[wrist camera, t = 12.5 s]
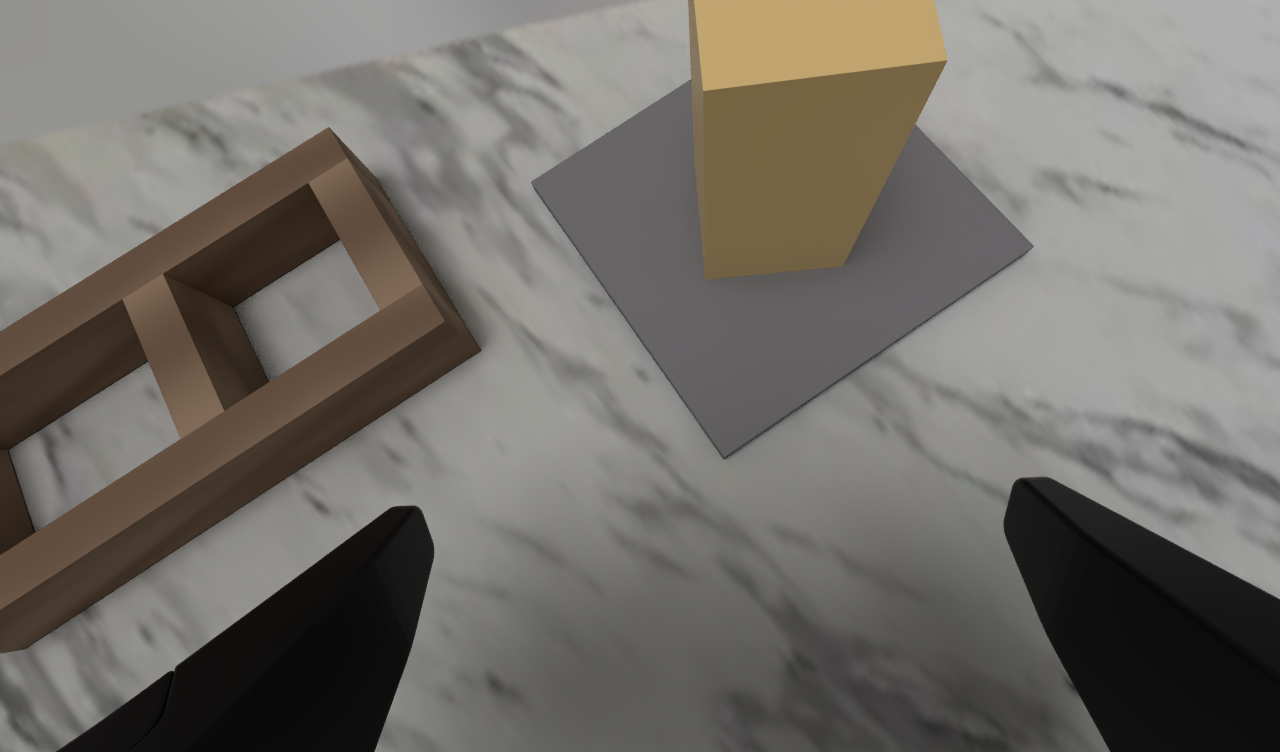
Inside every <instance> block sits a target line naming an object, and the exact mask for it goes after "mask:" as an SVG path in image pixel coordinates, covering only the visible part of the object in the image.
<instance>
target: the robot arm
mask: <svg viewBox="0 0 1280 752" xmlns="http://www.w3.org/2000/svg"><path fill="white" fill-rule="evenodd" d="M1004 533H1005V536H1006V539H1007V541H1008V544H1009V546H1010V549H1011V551H1012V554H1013V556H1014V558H1015V561H1016V563H1017V566H1018V568H1019V570H1020V573H1021V575H1022V578H1023V580H1024V583H1025V585H1026V587H1027V590H1028V592H1029V595H1030V597H1031V599H1032V602H1033V604H1034V607H1035V609H1036V612H1037V614H1038V616H1039V619H1040V621H1041V623H1042V625H1043V628H1044V630H1045V632H1046V634H1047V636H1048V638H1049V640H1050V642H1051V644H1052V646H1053V648H1054V650H1055V651H1056V653H1057V655H1058V657H1059V659H1060V661H1061V662H1062V664H1063V666H1064V668H1065V670H1066V672H1067V673H1068V675H1069V677H1070V679H1071V681H1072V683H1073V684H1074V686H1075V688H1076V690H1077V692H1078V694H1079V695H1080V697H1081V699H1082V701H1083V703H1084V705H1085V706H1086V708H1087V710H1088V712H1089V714H1090V715H1091V717H1092V719H1093V721H1094V723H1095V725H1096V726H1097V728H1098V730H1099V732H1100V734H1101V736H1102V737H1103V739H1104V741H1105V743H1106V745H1107V747H1108V748H1109V750H1110V752H1280V599H1278V598H1277V597H1275V596H1273V595H1271V594H1269V593H1267V592H1265V591H1263V590H1261V589H1260V588H1258V587H1256V586H1254V585H1252V584H1250V583H1248V582H1246V581H1244V580H1242V579H1241V578H1239V577H1237V576H1235V575H1233V574H1231V573H1229V572H1227V571H1225V570H1224V569H1222V568H1220V567H1218V566H1216V565H1214V564H1212V563H1210V562H1208V561H1207V560H1205V559H1203V558H1201V557H1199V556H1197V555H1195V554H1193V553H1191V552H1190V551H1188V550H1186V549H1184V548H1182V547H1180V546H1178V545H1176V544H1174V543H1172V542H1171V541H1169V540H1167V539H1165V538H1163V537H1161V536H1159V535H1157V534H1155V533H1154V532H1152V531H1150V530H1148V529H1146V528H1144V527H1142V526H1140V525H1138V524H1137V523H1135V522H1133V521H1131V520H1129V519H1127V518H1125V517H1123V516H1121V515H1119V514H1118V513H1116V512H1114V511H1112V510H1110V509H1108V508H1106V507H1104V506H1102V505H1101V504H1099V503H1097V502H1095V501H1093V500H1091V499H1089V498H1087V497H1085V496H1084V495H1082V494H1080V493H1078V492H1076V491H1074V490H1072V489H1070V488H1068V487H1066V486H1065V485H1063V484H1061V483H1059V482H1057V481H1055V480H1053V479H1051V478H1048V477H1028V478H1020V479H1017V480H1016V481H1015V482H1014V484H1013V486H1012V490H1011V494H1010V497H1009V501H1008V505H1007V509H1006V513H1005V517H1004ZM433 559H434V544H433V540H432V538H431V535H430V532H429V529H428V526H427V524H426V521H425V518H424V515H423V513H422V511H421V509H420V508H419V507H417V506H396V507H392V508H390V509H388V510H387V511H386V512H384V513H383V514H381V515H380V516H379V517H377V518H376V519H375V520H373V521H372V522H371V523H369V524H368V525H367V526H365V527H364V528H363V529H361V530H360V531H358V532H357V533H356V534H354V535H353V536H352V537H350V538H349V539H348V540H346V541H345V542H344V543H342V544H341V545H340V546H338V547H337V548H336V549H334V550H333V551H331V552H330V553H329V554H327V555H326V556H325V557H323V558H322V559H321V560H319V561H318V562H317V563H315V564H314V565H313V566H311V567H310V568H308V569H307V570H306V571H304V572H303V573H302V574H300V575H299V576H298V577H296V578H295V579H294V580H292V581H291V582H290V583H288V584H287V585H285V586H284V587H283V588H281V589H280V590H279V591H277V592H276V593H275V594H273V595H272V596H271V597H269V598H268V599H267V600H265V601H264V602H262V603H261V604H260V605H258V606H257V607H256V608H254V609H253V610H252V611H250V612H249V613H248V614H246V615H245V616H244V617H242V618H241V619H239V620H238V621H237V622H235V623H234V624H233V625H231V626H230V627H229V628H227V629H226V630H225V631H223V632H222V633H221V634H219V635H218V636H216V637H215V638H214V639H212V640H211V641H210V642H208V643H207V644H206V645H204V646H203V647H202V648H200V649H199V650H198V651H196V652H195V653H193V654H192V655H191V656H189V657H188V658H187V659H185V660H184V661H183V662H181V663H180V664H179V665H177V666H176V667H175V670H174V671H169V672H168V673H166V674H165V675H164V676H162V677H161V678H160V679H158V680H157V681H155V682H154V683H153V684H151V685H150V686H149V687H147V688H146V689H145V690H143V691H142V692H141V693H139V694H138V695H136V696H135V697H134V698H132V699H131V700H129V701H128V702H127V703H125V704H124V705H123V706H121V707H120V708H118V709H117V710H116V711H114V712H113V713H111V714H110V715H109V716H107V717H106V718H104V719H103V720H102V721H100V722H99V723H97V724H96V725H95V726H93V727H92V728H90V729H89V730H87V731H86V732H84V733H83V734H81V735H80V736H79V737H77V738H76V739H74V740H73V741H71V742H70V743H68V744H67V745H65V746H64V747H62V748H61V749H59V750H58V751H56V752H374V751H375V749H376V746H377V743H378V740H379V738H380V735H381V732H382V729H383V727H384V724H385V721H386V718H387V715H388V713H389V710H390V707H391V704H392V702H393V699H394V696H395V693H396V690H397V688H398V685H399V682H400V679H401V677H402V674H403V671H404V668H405V666H406V663H407V660H408V657H409V654H410V651H411V647H412V644H413V640H414V637H415V633H416V629H417V625H418V620H419V616H420V612H421V608H422V604H423V600H424V596H425V592H426V588H427V584H428V580H429V575H430V571H431V567H432V563H433Z"/></svg>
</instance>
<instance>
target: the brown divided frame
mask: <svg viewBox="0 0 1280 752" xmlns="http://www.w3.org/2000/svg"><path fill="white" fill-rule="evenodd" d="M339 239H340V240H341V241H342V243H343V245H344V247H345V249H346V250H347V252H348V254H349V256H350V257H351V259H352V261H353V263H354V264H355V266H356V268H357V270H358V272H359V273H360V275H361V277H362V279H363V280H364V282H365V284H366V286H367V288H368V289H369V291H370V293H371V295H372V296H373V298H374V300H375V302H376V304H377V305H378V307H379V309H380V311H379V312H378V313H376V314H374V315H373V316H371V317H370V318H368V319H367V320H365V321H364V322H362V323H360V324H359V325H357V326H356V327H354V328H353V329H351V330H350V331H348V332H346V333H345V334H343V335H342V336H340V337H339V338H337V339H336V340H334V341H332V342H331V343H329V344H328V345H326V346H325V347H323V348H322V349H320V350H318V351H317V352H315V353H314V354H312V355H311V356H309V357H308V358H306V359H304V360H303V361H301V362H300V363H298V364H297V365H295V366H294V367H292V368H290V369H289V370H287V371H286V372H284V373H283V374H281V375H280V376H278V377H277V378H275V379H273V380H272V381H270V382H268V379H267V377H266V375H265V373H264V371H263V369H262V367H261V365H260V363H259V361H258V359H257V357H256V354H255V352H254V350H253V348H252V346H251V344H250V342H249V340H248V338H247V336H246V334H245V332H244V329H243V327H242V325H241V323H240V321H239V319H238V317H237V315H236V313H235V311H234V309H233V306H235V305H237V304H238V303H240V302H241V301H243V300H244V299H246V298H248V297H249V296H251V295H252V294H254V293H255V292H257V291H259V290H260V289H262V288H263V287H265V286H267V285H268V284H270V283H271V282H273V281H274V280H276V279H278V278H279V277H281V276H282V275H284V274H285V273H287V272H289V271H290V270H292V269H293V268H295V267H296V266H298V265H300V264H301V263H303V262H304V261H306V260H308V259H309V258H311V257H312V256H314V255H315V254H317V253H319V252H320V251H322V250H323V249H325V248H326V247H328V246H330V245H331V244H333V243H334V242H336V241H337V240H339ZM479 351H481V350H480V348H479V346H478V345H477V343H476V341H475V340H474V338H473V337H472V335H471V333H470V332H469V330H468V328H467V327H466V325H465V323H464V322H463V320H462V318H461V317H460V315H459V313H458V312H457V310H456V309H455V307H454V305H453V304H452V302H451V300H450V299H449V297H448V295H447V294H446V292H445V290H444V289H443V287H442V286H441V284H440V282H439V281H438V279H437V277H436V276H435V274H434V272H433V271H432V269H431V267H430V266H429V264H428V262H427V261H426V259H425V258H424V256H423V254H422V253H421V251H420V249H419V248H418V246H417V244H416V243H415V241H414V239H413V238H412V236H411V234H410V233H409V231H408V230H407V228H406V226H405V225H404V223H403V221H402V220H401V218H400V216H399V215H398V213H397V211H396V210H395V208H394V206H393V205H392V203H391V202H390V200H389V198H388V197H387V195H386V193H385V192H384V190H383V188H382V187H381V185H380V183H379V182H378V180H377V178H376V177H375V176H374V175H373V174H372V173H371V172H370V171H369V170H368V168H367V167H366V166H365V165H364V164H363V163H362V162H361V161H360V160H359V159H358V158H357V157H356V156H355V155H354V153H353V152H352V151H351V150H350V149H349V148H348V147H347V146H346V145H345V144H344V143H343V142H342V141H341V140H340V139H339V137H338V136H337V135H336V134H335V133H334V132H333V131H332V130H331V129H330V128H329V127H328V128H326V129H325V130H323V131H322V132H320V133H318V134H317V135H315V136H314V137H312V138H310V139H309V140H307V141H306V142H304V143H302V144H301V145H299V146H298V147H296V148H294V149H293V150H291V151H289V152H288V153H286V154H285V155H283V156H281V157H280V158H278V159H277V160H275V161H273V162H272V163H270V164H269V165H267V166H265V167H264V168H262V169H261V170H259V171H257V172H256V173H254V174H253V175H251V176H249V177H248V178H246V179H245V180H243V181H241V182H240V183H238V184H236V185H235V186H233V187H232V188H230V189H228V190H227V191H225V192H224V193H222V194H220V195H219V196H217V197H216V198H214V199H212V200H211V201H209V202H208V203H206V204H204V205H203V206H201V207H200V208H198V209H196V210H195V211H193V212H192V213H190V214H188V215H187V216H185V217H183V218H182V219H180V220H179V221H177V222H175V223H174V224H172V225H171V226H169V227H167V228H166V229H164V230H163V231H161V232H159V233H158V234H156V235H155V236H153V237H151V238H150V239H148V240H147V241H145V242H143V243H142V244H140V245H139V246H137V247H135V248H134V249H132V250H130V251H129V252H127V253H126V254H124V255H122V256H121V257H119V258H118V259H116V260H114V261H113V262H111V263H110V264H108V265H106V266H105V267H103V268H102V269H100V270H98V271H97V272H95V273H94V274H92V275H90V276H89V277H87V278H85V279H84V280H82V281H81V282H79V283H77V284H76V285H74V286H73V287H71V288H69V289H68V290H66V291H65V292H63V293H61V294H60V295H58V296H57V297H55V298H53V299H52V300H50V301H49V302H47V303H45V304H44V305H42V306H41V307H39V308H37V309H36V310H34V311H32V312H31V313H29V314H28V315H26V316H24V317H23V318H21V319H20V320H18V321H16V322H15V323H13V324H12V325H10V326H8V327H7V328H5V329H4V330H2V331H0V653H6V652H12V651H17V650H23V649H25V648H27V647H28V646H30V645H31V644H33V643H34V642H36V641H37V640H39V639H40V638H42V637H43V636H45V635H46V634H48V633H50V632H51V631H53V630H54V629H56V628H57V627H59V626H60V625H62V624H63V623H65V622H66V621H68V620H69V619H71V618H72V617H74V616H76V615H77V614H79V613H80V612H82V611H83V610H85V609H86V608H88V607H89V606H91V605H92V604H94V603H95V602H97V601H98V600H100V599H102V598H103V597H105V596H106V595H108V594H109V593H111V592H112V591H114V590H115V589H117V588H118V587H120V586H121V585H123V584H124V583H126V582H128V581H129V580H131V579H132V578H134V577H135V576H137V575H138V574H140V573H141V572H143V571H144V570H146V569H147V568H149V567H150V566H152V565H154V564H155V563H157V562H158V561H160V560H161V559H163V558H164V557H166V556H167V555H169V554H170V553H172V552H173V551H175V550H176V549H178V548H180V547H181V546H183V545H184V544H186V543H187V542H189V541H190V540H192V539H193V538H195V537H196V536H198V535H199V534H201V533H202V532H204V531H206V530H207V529H209V528H210V527H212V526H213V525H215V524H216V523H218V522H219V521H221V520H222V519H224V518H225V517H227V516H228V515H230V514H232V513H233V512H235V511H236V510H238V509H239V508H241V507H242V506H244V505H245V504H247V503H248V502H250V501H251V500H253V499H254V498H256V497H258V496H259V495H261V494H262V493H264V492H265V491H267V490H268V489H270V488H271V487H273V486H274V485H276V484H277V483H279V482H280V481H282V480H284V479H285V478H287V477H288V476H290V475H291V474H293V473H294V472H296V471H297V470H299V469H300V468H302V467H303V466H305V465H306V464H308V463H310V462H311V461H313V460H314V459H316V458H317V457H319V456H320V455H322V454H323V453H325V452H326V451H328V450H329V449H331V448H332V447H334V446H336V445H337V444H339V443H340V442H342V441H343V440H345V439H346V438H348V437H349V436H351V435H352V434H354V433H355V432H357V431H358V430H360V429H362V428H363V427H365V426H366V425H368V424H369V423H371V422H372V421H374V420H375V419H377V418H378V417H380V416H381V415H383V414H384V413H386V412H388V411H389V410H391V409H392V408H394V407H395V406H397V405H398V404H400V403H401V402H403V401H404V400H406V399H407V398H409V397H410V396H412V395H414V394H415V393H417V392H418V391H420V390H421V389H423V388H424V387H426V386H427V385H429V384H430V383H432V382H433V381H435V380H436V379H438V378H440V377H441V376H443V375H444V374H446V373H447V372H449V371H450V370H452V369H453V368H455V367H456V366H458V365H459V364H461V363H462V362H464V361H466V360H467V359H469V358H470V357H472V356H473V355H475V354H476V353H478V352H479ZM147 361H149V364H150V366H151V369H152V371H153V373H154V376H155V378H156V381H157V383H158V385H159V388H160V390H161V393H162V395H163V397H164V400H165V402H166V405H167V407H168V409H169V412H170V414H171V416H172V419H173V421H174V424H175V426H176V428H177V431H178V433H179V436H180V438H181V439H180V440H179V441H177V442H176V443H174V444H172V445H171V446H169V447H168V448H166V449H165V450H163V451H162V452H160V453H158V454H157V455H155V456H154V457H152V458H151V459H149V460H148V461H146V462H144V463H143V464H141V465H140V466H138V467H137V468H135V469H134V470H132V471H130V472H129V473H127V474H126V475H124V476H123V477H121V478H120V479H118V480H116V481H115V482H113V483H112V484H110V485H109V486H107V487H106V488H104V489H102V490H101V491H99V492H98V493H96V494H95V495H93V496H92V497H90V498H88V499H87V500H85V501H84V502H82V503H81V504H79V505H78V506H76V507H75V508H73V509H71V510H70V511H68V512H67V513H65V514H64V515H62V516H61V517H59V518H57V519H56V520H54V521H53V522H51V523H50V524H48V525H47V526H45V527H43V528H42V529H40V530H39V531H37V532H36V533H34V531H33V528H32V525H31V522H30V519H29V516H28V513H27V510H26V506H25V503H24V500H23V497H22V494H21V491H20V488H19V485H18V482H17V479H16V476H15V472H14V469H13V466H12V463H11V460H10V457H9V454H8V451H7V450H8V449H9V448H11V447H13V446H14V445H16V444H17V443H19V442H20V441H22V440H24V439H25V438H27V437H28V436H30V435H32V434H33V433H35V432H36V431H38V430H39V429H41V428H43V427H44V426H46V425H47V424H49V423H50V422H52V421H54V420H55V419H57V418H58V417H60V416H61V415H63V414H65V413H66V412H68V411H69V410H71V409H73V408H74V407H76V406H77V405H79V404H80V403H82V402H84V401H85V400H87V399H88V398H90V397H91V396H93V395H95V394H96V393H98V392H99V391H101V390H102V389H104V388H106V387H107V386H109V385H110V384H112V383H114V382H115V381H117V380H118V379H120V378H121V377H123V376H125V375H126V374H128V373H129V372H131V371H132V370H134V369H136V368H137V367H139V366H140V365H142V364H143V363H145V362H147Z"/></svg>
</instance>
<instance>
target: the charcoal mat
mask: <svg viewBox="0 0 1280 752" xmlns="http://www.w3.org/2000/svg"><path fill="white" fill-rule="evenodd" d="M531 183H532V185H533V187H534V189H535V191H536V192H537V194H538V195H539V196H540V198H541V199H542V201H543V202H544V204H545V205H546V206H547V208H548V209H549V211H550V212H551V214H552V215H553V216H554V218H555V219H556V221H557V222H558V224H559V225H560V226H561V228H562V229H563V231H564V232H565V233H566V235H567V236H568V238H569V239H570V241H571V242H572V243H573V245H574V246H575V248H576V249H577V251H578V252H579V253H580V255H581V256H582V258H583V259H584V261H585V262H586V263H587V265H588V266H589V268H590V269H591V271H592V272H593V273H594V275H595V276H596V278H597V279H598V281H599V282H600V283H601V285H602V286H603V288H604V289H605V291H606V292H607V293H608V295H609V296H610V298H611V299H612V301H613V302H614V303H615V305H616V306H617V308H618V309H619V311H620V312H621V313H622V315H623V316H624V318H625V319H626V321H627V322H628V323H629V325H630V326H631V328H632V329H633V330H634V332H635V333H636V335H637V336H638V338H639V339H640V340H641V342H642V343H643V345H644V346H645V348H646V349H647V350H648V352H649V353H650V355H651V356H652V358H653V359H654V360H655V362H656V363H657V365H658V366H659V368H660V369H661V370H662V372H663V373H664V375H665V376H666V378H667V379H668V380H669V382H670V383H671V385H672V386H673V388H674V389H675V390H676V392H677V393H678V395H679V396H680V398H681V399H682V400H683V402H684V403H685V405H686V406H687V408H688V409H689V410H690V412H691V413H692V415H693V416H694V418H695V419H696V420H697V422H698V423H699V425H700V426H701V427H702V429H703V430H704V432H705V433H706V435H707V436H708V437H709V439H710V440H711V442H712V443H713V445H714V446H715V447H716V449H717V450H718V452H719V453H720V455H721V456H722V457H723V459H725V458H726V457H728V456H729V455H731V454H732V453H734V452H735V451H737V450H738V449H739V448H741V447H742V446H744V445H745V444H747V443H748V442H750V441H751V440H753V439H754V438H756V437H757V436H759V435H760V434H762V433H763V432H764V431H766V430H767V429H769V428H770V427H772V426H773V425H775V424H776V423H778V422H779V421H781V420H782V419H784V418H785V417H787V416H788V415H789V414H791V413H792V412H794V411H795V410H797V409H798V408H800V407H801V406H803V405H804V404H806V403H807V402H809V401H810V400H811V399H813V398H814V397H816V396H817V395H819V394H820V393H822V392H823V391H825V390H826V389H828V388H829V387H831V386H832V385H834V384H835V383H836V382H838V381H839V380H841V379H842V378H844V377H845V376H847V375H848V374H850V373H851V372H853V371H854V370H856V369H857V368H858V367H860V366H861V365H863V364H864V363H866V362H867V361H869V360H870V359H872V358H873V357H875V356H876V355H878V354H879V353H881V352H882V351H883V350H885V349H886V348H888V347H889V346H891V345H892V344H894V343H895V342H897V341H898V340H900V339H901V338H903V337H904V336H905V335H907V334H908V333H910V332H911V331H913V330H914V329H916V328H917V327H919V326H920V325H922V324H923V323H925V322H926V321H928V320H929V319H930V318H932V317H933V316H935V315H936V314H938V313H939V312H941V311H942V310H944V309H945V308H947V307H948V306H950V305H951V304H953V303H954V302H955V301H957V300H958V299H960V298H961V297H963V296H964V295H966V294H967V293H969V292H970V291H972V290H973V289H975V288H976V287H977V286H979V285H980V284H982V283H983V282H985V281H986V280H988V279H989V278H991V277H992V276H994V275H995V274H997V273H998V272H1000V271H1001V270H1002V269H1004V268H1005V267H1007V266H1008V265H1010V264H1011V263H1013V262H1014V261H1016V260H1017V259H1019V258H1020V257H1022V256H1023V255H1024V254H1026V253H1027V252H1028V251H1029V250H1031V249H1032V248H1033V247H1034V246H1033V245H1032V244H1031V243H1030V242H1029V241H1028V240H1027V239H1026V238H1025V237H1024V235H1023V234H1022V233H1021V232H1020V231H1019V230H1018V229H1017V228H1016V227H1015V226H1014V225H1013V224H1012V223H1011V222H1010V221H1009V220H1008V219H1007V218H1006V217H1005V216H1004V215H1003V214H1002V213H1001V212H1000V211H999V210H998V209H997V208H996V207H995V206H994V205H993V204H992V203H991V202H990V201H989V200H988V199H987V198H986V197H985V195H984V194H983V193H982V192H981V191H980V190H979V189H978V188H977V187H976V186H975V185H974V184H973V183H972V182H971V181H970V180H969V179H968V178H967V177H966V176H965V175H964V174H963V173H962V172H961V171H960V170H959V169H958V168H957V167H956V166H955V165H954V164H953V163H952V162H951V161H950V160H949V159H948V158H947V157H946V156H945V154H944V153H943V152H942V151H941V150H940V149H939V148H938V147H937V146H936V145H935V144H934V143H933V142H932V141H931V140H930V139H929V138H928V137H927V136H926V135H925V134H924V133H923V132H922V131H921V130H920V129H919V128H918V127H917V126H916V125H914V127H913V129H912V131H911V133H910V135H909V137H908V139H907V141H906V143H905V145H904V147H903V149H902V151H901V153H900V155H899V157H898V159H897V161H896V163H895V165H894V167H893V169H892V171H891V173H890V175H889V177H888V178H887V180H886V182H885V184H884V186H883V188H882V190H881V192H880V194H879V196H878V198H877V200H876V202H875V204H874V206H873V208H872V210H871V212H870V214H869V216H868V218H867V220H866V222H865V224H864V226H863V228H862V230H861V232H860V234H859V236H858V238H857V239H856V241H855V243H854V245H853V247H852V249H851V251H850V253H849V255H848V257H847V259H846V261H845V263H844V265H843V267H833V268H823V269H812V270H802V271H792V272H782V273H771V274H761V275H751V276H741V277H730V278H720V279H710V280H705V274H704V263H703V252H702V241H701V230H700V220H699V209H698V198H697V187H696V177H695V166H694V144H693V117H692V89H691V80H689V81H688V82H686V83H685V84H683V85H682V86H680V87H678V88H677V89H675V90H674V91H672V92H671V93H669V94H668V95H666V96H664V97H663V98H661V99H660V100H658V101H657V102H655V103H653V104H652V105H650V106H649V107H647V108H646V109H644V110H643V111H641V112H639V113H638V114H636V115H635V116H633V117H632V118H630V119H628V120H627V121H625V122H624V123H622V124H621V125H619V126H618V127H616V128H614V129H613V130H611V131H610V132H608V133H607V134H605V135H604V136H602V137H600V138H599V139H597V140H596V141H594V142H593V143H591V144H589V145H588V146H586V147H585V148H583V149H582V150H580V151H579V152H577V153H575V154H574V155H572V156H571V157H569V158H568V159H566V160H564V161H563V162H561V163H560V164H558V165H557V166H555V167H554V168H552V169H550V170H549V171H547V172H546V173H544V174H543V175H541V176H539V177H538V178H536V179H535V180H533V181H532V182H531Z"/></svg>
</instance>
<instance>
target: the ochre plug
mask: <svg viewBox="0 0 1280 752" xmlns="http://www.w3.org/2000/svg"><path fill="white" fill-rule="evenodd" d="M688 7H689V34H690V62H691V89H692V117H693V144H694V166H695V177H696V187H697V198H698V209H699V220H700V230H701V241H702V252H703V263H704V274H705V280H710V279H720V278H730V277H741V276H751V275H761V274H771V273H782V272H792V271H802V270H812V269H823V268H833V267H843V265H844V263H845V261H846V259H847V257H848V255H849V253H850V251H851V249H852V247H853V245H854V243H855V241H856V239H857V238H858V236H859V234H860V232H861V230H862V228H863V226H864V224H865V222H866V220H867V218H868V216H869V214H870V212H871V210H872V208H873V206H874V204H875V202H876V200H877V198H878V196H879V194H880V192H881V190H882V188H883V186H884V184H885V182H886V180H887V178H888V177H889V175H890V173H891V171H892V169H893V167H894V165H895V163H896V161H897V159H898V157H899V155H900V153H901V151H902V149H903V147H904V145H905V143H906V141H907V139H908V137H909V135H910V133H911V131H912V129H913V127H914V125H915V123H916V121H917V119H918V117H919V116H920V114H921V112H922V110H923V108H924V106H925V104H926V102H927V100H928V98H929V96H930V94H931V92H932V90H933V88H934V86H935V84H936V82H937V80H938V78H939V76H940V74H941V72H942V70H943V68H944V66H945V64H946V62H947V55H946V51H945V47H944V42H943V38H942V33H941V29H940V25H939V20H938V16H937V11H936V7H935V2H934V0H688Z"/></svg>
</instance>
